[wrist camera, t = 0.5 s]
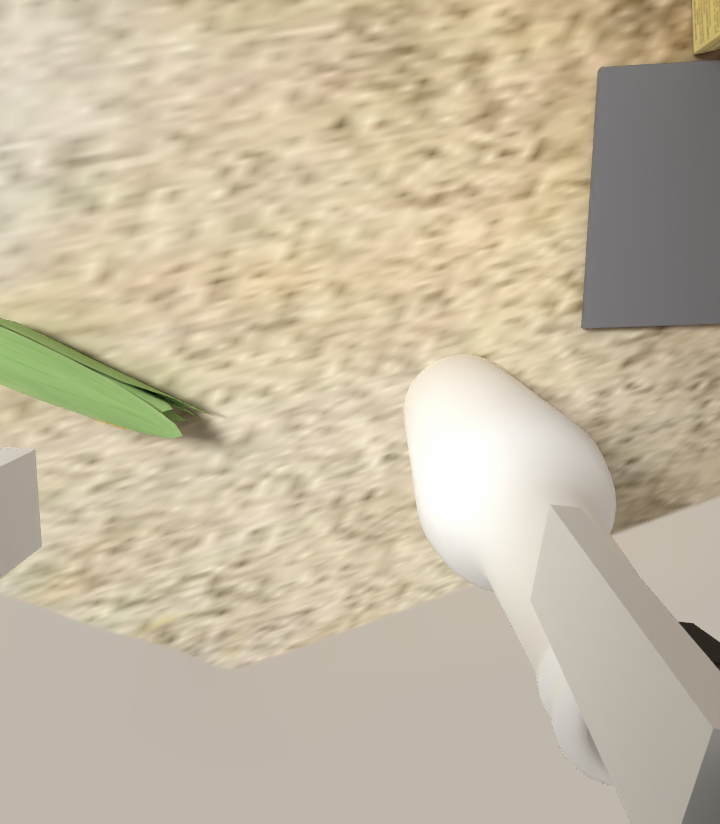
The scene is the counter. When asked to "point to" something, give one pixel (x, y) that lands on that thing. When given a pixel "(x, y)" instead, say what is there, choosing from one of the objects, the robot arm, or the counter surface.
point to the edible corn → (82, 383)
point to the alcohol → (505, 504)
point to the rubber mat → (654, 197)
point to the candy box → (706, 25)
